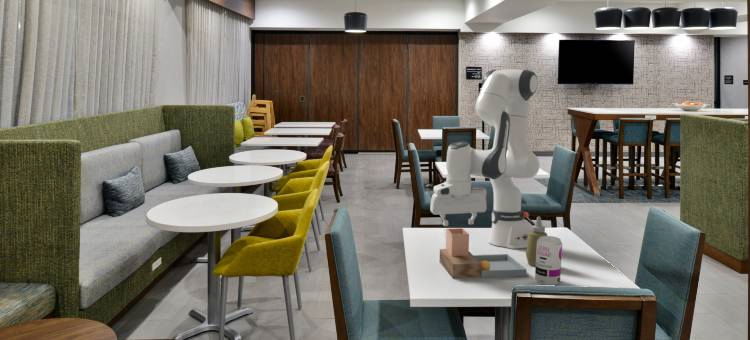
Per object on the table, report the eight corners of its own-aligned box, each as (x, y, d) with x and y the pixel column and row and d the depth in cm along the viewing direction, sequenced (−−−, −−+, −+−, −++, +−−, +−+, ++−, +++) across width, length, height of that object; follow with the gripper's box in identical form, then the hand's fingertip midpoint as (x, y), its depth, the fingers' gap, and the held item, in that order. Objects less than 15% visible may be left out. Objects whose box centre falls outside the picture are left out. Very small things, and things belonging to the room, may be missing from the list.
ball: (486, 257, 203) (475, 261, 203) (490, 260, 199) (479, 264, 199) (489, 267, 204) (478, 271, 203) (493, 271, 200) (482, 275, 199)
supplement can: (559, 279, 196) (562, 236, 194) (560, 287, 188) (562, 243, 186) (535, 276, 199) (537, 234, 196) (534, 284, 191) (536, 240, 188)
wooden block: (465, 261, 215) (465, 248, 214) (480, 277, 197) (481, 263, 197) (439, 262, 214) (439, 249, 213) (452, 278, 196) (453, 264, 195)
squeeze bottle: (545, 269, 206) (547, 220, 203) (522, 265, 210) (525, 217, 207) (550, 263, 213) (552, 216, 210) (528, 259, 217) (530, 213, 214)
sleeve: (461, 249, 213) (462, 228, 212) (468, 255, 205) (469, 233, 204) (445, 249, 212) (446, 228, 211) (451, 256, 204) (452, 234, 203)
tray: (507, 260, 216) (507, 253, 216) (526, 276, 199) (526, 269, 198) (466, 261, 214) (466, 255, 214) (481, 278, 196) (481, 271, 196)
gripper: (483, 184, 210) (483, 221, 212) (429, 187, 207) (429, 224, 209) (489, 188, 203) (488, 225, 206) (433, 190, 201) (433, 228, 203)
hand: (458, 224), depth 208 cm, fingers open, 8 cm apart
